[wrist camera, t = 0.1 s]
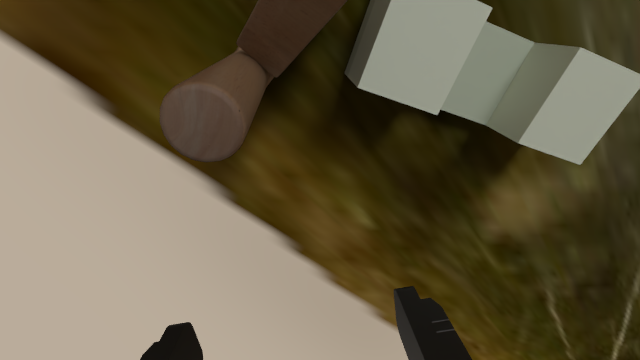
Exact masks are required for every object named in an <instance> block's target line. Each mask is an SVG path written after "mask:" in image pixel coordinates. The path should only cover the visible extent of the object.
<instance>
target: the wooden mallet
mask: <svg viewBox="0 0 640 360" xmlns="http://www.w3.org/2000/svg"><path fill="white" fill-rule="evenodd" d="M346 1H347V0H258V2H257V4H256V6H255V8H254V10H253V11H252V13H251V15H250V17H249V19H248V21H247V23H246V25H245V27H244V28H243V30H242V32H241V34H240V36H239V38H238V40H237V42H236V44H237V45H238V46H239V47H238V48H237V50H236V51H235V52H234V53H233V54H231V55H229V56H228V57H226V58H224V59H222V60H221V61H219V62H217V63H215V64H213V65H212V66H210V67H208V68H206V69H204V70H203V71H201V72H199V73H197V74H196V75H194V76H192V77H190V78H188V79H187V80H185V81H183V82H181V83H180V84H178V85H176V86H174V87H173V88H172V89H171V90H170V91H169V92H168V93H167V94H166V95H165V97H164V99H163V102H162V104H161V107H160V124H161V127H162V130H163V133H164V136H165V137H166V139H167V140H168V141H169V143H170V144H171V146H172V147H174V148H175V149H176V150H177V151H178V152H179V153H181V154H182V155H184V156H186V157H188V158H190V159H193V160H197V161H202V162H213V161H221V160H223V159H226V158H228V157H230V156H232V155H233V154H234V153H235V152H236V151H237V150H238V149H240V147H241V145H242V143H243V141H244V139H245V137H246V135H247V133H248V130H249V128H250V125H251V123H252V120H253V118H254V116H255V113H256V111H257V108H258V106H259V104H260V101H261V99H262V96H263V94H264V91H265V89H266V87H267V86H268V84H269V83H270V82H271V81H272V79H273V78H274V77H278V76H280V75H281V74H282V72H283V71H284V70H285V69H286V68H287V67H288V66H289V65H290V64H291V62H292V61H293V60H294V59H295V58H296V57H297V56H298V55H299V54H300V52H301V51H302V50H303V49H304V48H305V47H306V46H307V45H308V44H309V42H310V41H311V40H312V39H313V38H314V37H315V36H316V35H317V34H318V32H319V31H320V30H321V29H322V28H323V27H324V26H325V25H326V24H327V22H328V21H329V20H330V19H331V18H332V17H333V16H334V15H335V14H336V12H337V11H338V10H339V9H340V8H341V7H342V6H343V5H344V4H345V2H346Z"/></svg>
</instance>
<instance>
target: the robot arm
mask: <svg viewBox="0 0 640 360" xmlns="http://www.w3.org/2000/svg"><path fill="white" fill-rule="evenodd" d="M394 299H395V310H396V320H397V326H398V330H399V334H400V337H401V340H402V343H403V345H404V348H405V351H406V353H407V356H408V359H409V360H472V359H471V357H470V355H469V353H468V352H467V350H466V348H465V346H464V345H463V343H462V341H461V340H460V338H459V336H458V334H457V333H456V331H455V330H454V327H453V326H452V324H451V322H450V321H449V319H448V317H447V315H446V314H445V312H444V310H443V308H442V307H441V306H440V305H439V304H437V303H436V302H435V301H434V300H433V299H431V298H426V299H420V298H419V296H418V294H417V292H416V290H415V288H414V287H413V286H410V287H404V288H398V289H394ZM140 360H203V353H202V349H201V347H200V344H199V341H198V339H197V336H196V334H195V331H194V329H193V326H192V324H191V323H189V322H186V323H180V324H175V325H169V326H168V327H167V328H166V330H165V332H164V334H163V335H162V337H161V339H160V341H159V342H154V343H153V345H152V346H151V347H150V348H149V349H148V350H147V351H146V352H145V353H144V354H143V355H142V357H141V359H140Z"/></svg>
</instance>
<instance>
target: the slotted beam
mask: <svg viewBox="0 0 640 360" xmlns="http://www.w3.org/2000/svg"><path fill="white" fill-rule="evenodd" d="M491 10H492V7H490V6H488V5H486V4H483V3H481V2H479V1H477V0H370V3H369V6H368V8H367V11H366V14H365V17H364V20H363V22H362V25H361V28H360V31H359V34H358V36H357V39H356V42H355V45H354V48H353V50H352V53H351V56H350V59H349V62H348V64H347V67H346V70H345V75H346V76H347V77H348V78H349V79H350V80H351V81H352V82H353V83H354V84H355V85H356V87H357V88H360V89H363V90H366V91H369V92H371V93H374V94H377V95H380V96H383V97H386V98H389V99H392V100H395V101H397V102H400V103H403V104H406V105H409V106H412V107H415V108H418V109H421V110H423V111H426V112H429V113H432V114H435V115H438V113H439V111H440V109H441V110H444V111H446V112H449V113H452V114H455V115H458V116H461V117H463V118H466V119H469V120H472V121H475V122H478V123H480V124H483V125H486V126H488V127H490V128H491V129H493V130H495V131H497V132H499V133H500V134H502V135H504V136H506V137H508V138H509V139H511V140H513V141H515V142H517V143H519V144H522V145H525V146H527V147H530V148H533V149H536V150H539V151H542V152H545V153H548V154H551V155H553V156H556V157H559V158H562V159H565V160H568V161H571V162H574V163H577V164H579V165H580V164H581V163H582V162H583V161H584V159H585V158H586V157H587V155H588V154H589V153H590V152H591V150H592V149H593V148H594V146H595V145H596V144H597V142H598V141H599V140H600V139H601V137H602V136H603V135H604V133H605V132H606V131H607V130H608V128H609V127H610V126H611V124H612V123H613V122H614V120H615V119H616V118H617V117H618V115H619V114H620V113H621V111H622V110H623V109H624V108H625V106H626V105H627V104H628V102H629V101H630V100H631V99H632V97H633V96H634V95H635V93H636V92H637V91H638V89H639V88H640V74H639V73H636V72H634V71H632V70H630V69H627V68H625V67H623V66H621V65H619V64H616V63H614V62H612V61H610V60H607V59H605V58H603V57H601V56H599V55H596V54H594V53H592V52H590V51H588V50H585V49H583V48H581V47H572V46H562V45H552V44H542V43H534V42H532V41H530V40H527V39H525V38H523V37H520V36H518V35H516V34H514V33H511V32H509V31H507V30H504V29H502V28H500V27H498V26H495V25H493V24H491V23H488V22H486V20H487V18H488V16H489V14H490V12H491Z"/></svg>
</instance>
